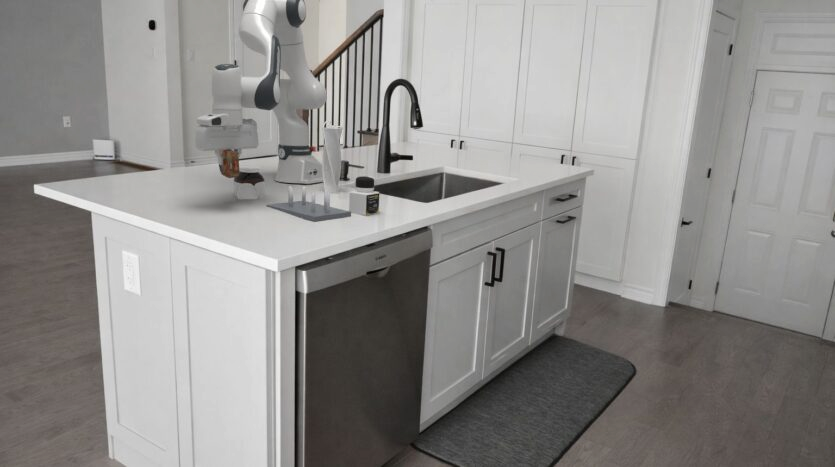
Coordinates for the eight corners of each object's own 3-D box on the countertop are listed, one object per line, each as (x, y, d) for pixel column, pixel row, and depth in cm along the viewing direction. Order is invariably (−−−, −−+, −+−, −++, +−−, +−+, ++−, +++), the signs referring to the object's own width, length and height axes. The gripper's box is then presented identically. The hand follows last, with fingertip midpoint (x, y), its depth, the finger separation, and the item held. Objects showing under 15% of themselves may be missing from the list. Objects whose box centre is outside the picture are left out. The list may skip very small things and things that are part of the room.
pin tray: (302, 204, 215) (303, 183, 213) (351, 216, 199) (351, 193, 198) (266, 209, 203) (266, 186, 202) (314, 221, 188) (314, 197, 187)
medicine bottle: (366, 216, 201) (367, 179, 199) (348, 213, 205) (349, 176, 202) (379, 213, 207) (380, 177, 205) (361, 210, 211) (362, 174, 208)
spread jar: (256, 198, 223) (256, 165, 221) (273, 203, 215) (273, 169, 213) (225, 200, 215) (224, 166, 212) (242, 206, 207) (241, 170, 204)
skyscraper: (318, 195, 235) (319, 120, 229) (337, 195, 238) (339, 120, 232) (323, 199, 228) (325, 121, 222) (343, 198, 231) (345, 121, 225)
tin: (218, 173, 201) (215, 147, 199) (228, 172, 203) (225, 146, 200) (232, 180, 189) (229, 152, 186) (242, 179, 190) (239, 151, 188)
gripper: (250, 117, 201) (251, 161, 204) (191, 118, 186) (193, 165, 189) (262, 119, 197) (262, 163, 200) (203, 120, 182) (204, 167, 185)
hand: (228, 164), depth 195 cm, fingers closed on tin, 3 cm apart
